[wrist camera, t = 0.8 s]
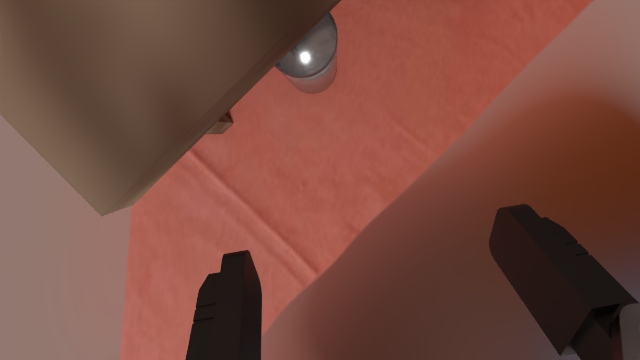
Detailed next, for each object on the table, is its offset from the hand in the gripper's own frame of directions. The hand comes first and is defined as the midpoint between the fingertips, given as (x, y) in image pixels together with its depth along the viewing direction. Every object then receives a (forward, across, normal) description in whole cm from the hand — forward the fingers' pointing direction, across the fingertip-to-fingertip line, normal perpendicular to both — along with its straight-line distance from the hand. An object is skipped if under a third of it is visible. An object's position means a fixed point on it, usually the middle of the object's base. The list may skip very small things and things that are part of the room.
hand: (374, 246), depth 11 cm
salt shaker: (+26, 0, +3) cm, 26 cm away
